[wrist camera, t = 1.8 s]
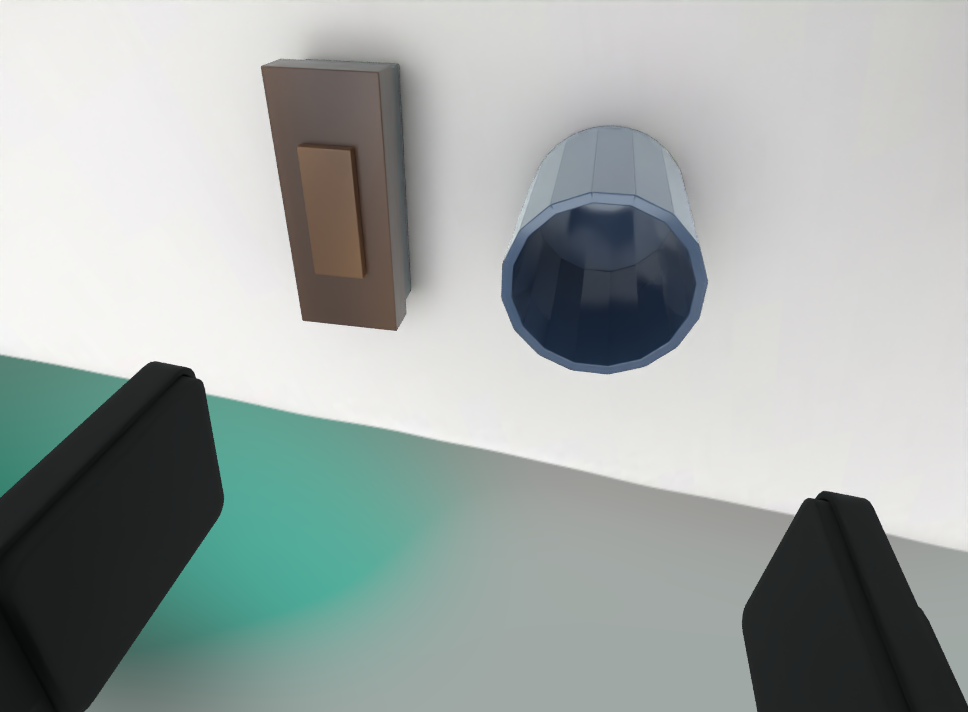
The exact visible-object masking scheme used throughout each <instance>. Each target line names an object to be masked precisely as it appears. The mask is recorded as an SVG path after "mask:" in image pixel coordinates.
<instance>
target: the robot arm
mask: <svg viewBox="0 0 968 712" xmlns="http://www.w3.org/2000/svg"><path fill="white" fill-rule="evenodd" d="M223 503H224V494H223V488H222V483H221V477H220V471H219V466H218V460H217V455H216V449H215V444H214V438H213V433H212V427H211V421H210V416H209V411H208V405H207V399H206V393H205V388H204V384H203V382H202V381H201V380H200V379H196V377H195V374H194V372H193V371H192V369H190V368H187V367H182V366H177V365H172V364H167V363H161V362H156V361H154V362H150V363H148V364H147V365H145V366H144V367H143V368H142V369H141V370H140V371H139V372H138V373H136V374H135V375H134V376H133V377H132V378H131V379H130V380H129V381H128V382H127V383H126V384H124V385H123V386H122V387H121V388H120V389H119V390H118V391H117V392H116V393H115V394H113V395H112V396H111V397H110V398H109V399H108V400H107V401H106V402H105V403H104V404H103V405H101V406H100V407H99V408H98V409H97V410H96V411H95V412H94V413H93V414H92V415H90V417H89V418H87V419H86V420H85V421H84V422H83V423H82V424H81V425H80V426H78V428H76V429H75V430H74V431H73V432H72V433H71V434H70V435H69V436H68V437H67V438H65V439H64V440H63V441H62V442H61V443H60V444H59V445H58V446H57V447H55V448H54V449H53V450H52V451H51V452H50V453H49V454H48V455H47V456H46V457H44V459H42V460H41V461H40V462H39V463H38V464H37V465H36V466H35V467H34V468H32V470H30V471H29V472H28V473H27V474H26V475H25V476H24V477H23V478H21V479H20V480H19V481H18V482H17V483H16V484H15V485H14V486H13V487H12V488H11V489H9V490H8V491H7V492H6V493H5V494H4V495H3V496H2V497H1V498H0V712H84V711H85V710H86V709H87V708H88V707H89V706H90V705H91V703H92V702H93V701H94V699H95V698H96V697H97V695H98V694H99V692H100V691H101V689H102V688H103V686H104V685H105V683H106V682H107V680H108V679H109V678H110V676H111V675H112V673H113V672H114V670H115V669H116V667H117V666H118V664H119V663H120V661H121V660H122V658H123V657H124V656H125V654H126V653H127V651H128V650H129V648H130V647H131V645H132V644H133V642H134V641H135V639H136V638H137V636H138V635H139V634H140V632H141V631H142V629H143V628H144V626H145V625H146V623H147V622H148V620H149V619H150V617H151V616H152V614H153V613H154V612H155V610H156V609H157V607H158V605H159V604H160V603H161V601H162V600H163V598H164V597H165V595H166V594H167V592H168V591H169V589H170V588H171V587H172V585H173V584H174V582H175V581H176V579H177V578H178V576H179V575H180V573H181V572H182V571H183V569H184V567H185V566H186V564H187V563H188V562H189V560H190V559H191V557H192V556H193V554H194V553H195V551H196V550H197V548H198V547H199V546H200V544H201V542H202V541H203V540H204V538H205V537H206V535H207V534H208V532H209V531H210V529H211V528H212V527H213V525H214V524H215V522H216V521H217V519H218V517H219V516H220V513H221V511H222V508H223ZM742 629H743V635H744V641H745V646H746V652H747V657H748V663H749V668H750V674H751V679H752V684H753V690H754V695H755V701H756V706H757V712H968V705H967V703H966V701H965V699H964V696H963V694H962V692H961V690H960V688H959V686H958V683H957V681H956V679H955V677H954V675H953V673H952V670H951V668H950V666H949V664H948V662H947V659H946V657H945V655H944V653H943V651H942V649H941V646H940V644H939V642H938V640H937V638H936V636H935V633H934V631H933V629H932V627H931V625H930V622H929V620H928V619H927V617H926V616H925V614H924V612H923V611H922V609H921V608H919V607H918V605H917V603H916V600H915V598H914V596H913V594H912V592H911V589H910V587H909V585H908V583H907V581H906V578H905V576H904V574H903V572H902V570H901V567H900V565H899V563H898V561H897V558H896V556H895V554H894V552H893V550H892V548H891V545H890V543H889V541H888V539H887V536H886V534H885V532H884V530H883V528H882V525H881V523H880V521H879V519H878V517H877V514H876V512H875V510H874V508H873V506H872V505H871V503H870V502H869V501H868V500H866V499H865V498H860V497H854V496H849V495H844V494H839V493H834V492H829V491H823V492H821V493H819V494H818V496H817V497H816V498H815V499H813V498H807V499H806V500H804V502H803V503H802V505H801V506H800V508H799V510H798V512H797V514H796V515H795V517H794V519H793V521H792V523H791V524H790V526H789V528H788V530H787V532H786V533H785V535H784V537H783V539H782V541H781V542H780V544H779V546H778V548H777V550H776V552H775V553H774V555H773V557H772V559H771V560H770V562H769V564H768V566H767V568H766V569H765V571H764V573H763V575H762V577H761V578H760V580H759V582H758V584H757V586H756V587H755V589H754V591H753V593H752V595H751V597H750V598H749V600H748V602H747V604H746V606H745V608H744V611H743V618H742Z"/></svg>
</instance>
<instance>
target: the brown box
mask: <svg viewBox="0 0 968 712" xmlns="http://www.w3.org/2000/svg"><path fill="white" fill-rule="evenodd" d="M261 70H262V76H263V82H264V89H265V95H266V101H267V107H268V113H269V119H270V125H271V131H272V137H273V143H274V149H275V156H276V162H277V168H278V174H279V180H280V186H281V192H282V198H283V204H284V210H285V216H286V222H287V229H288V235H289V241H290V247H291V253H292V259H293V265H294V271H295V277H296V283H297V289H298V296H299V302H300V308H301V314H302V320H303V321H311V322H320V323H329V324H338V325H347V326H357V327H366V328H375V329H384V330H393V331H397V329H398V327H399V326H400V324H401V322H402V320H403V319H404V317H405V315H406V298H407V296H408V294H409V293H410V291H411V282H410V263H409V244H408V226H407V207H406V188H405V169H404V151H403V132H402V113H401V94H400V75H399V64H392V63H371V62H351V61H331V60H311V59H306V60H291V59H279V60H276V61H273V62H271V63H268V64H265V65H263V66H261Z"/></svg>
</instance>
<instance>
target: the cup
mask: <svg viewBox="0 0 968 712" xmlns="http://www.w3.org/2000/svg"><path fill="white" fill-rule="evenodd" d="M707 285H708V279H707V275H706V271H705V266H704V262H703V258H702V253H701V249H700V245H699V241H698V237H697V233H696V229H695V225H694V221H693V217H692V213H691V210H690V206H689V202H688V198H687V194H686V190H685V186H684V182H683V178H682V174H681V171H680V169H679V167H678V166H677V164H676V162H675V161H674V159H673V158H672V156H671V155H670V153H669V152H668V151H667V150H666V149H665V148H664V147H663V146H662V145H661V144H660V143H658V142H657V141H656V140H655V139H653V138H651V137H650V136H648V135H646V134H644V133H642V132H639V131H637V130H634V129H630V128H627V127H619V126H601V127H594V128H590V129H587V130H583V131H581V132H578V133H576V134H574V135H572V136H570V137H568V138H567V139H565V140H564V141H562V142H561V143H560V144H558V145H557V146H556V147H555V148H554V149H553V150H552V151H551V152H550V153H549V154H548V155H547V156H546V158H545V159H544V160H543V161H542V163H541V165H540V167H539V169H538V170H537V173H536V175H535V177H534V179H533V181H532V183H531V186H530V188H529V191H528V193H527V196H526V199H525V202H524V205H523V207H522V210H521V213H520V216H519V219H518V221H517V224H516V227H515V230H514V233H513V235H512V238H511V241H510V244H509V247H508V250H507V252H506V255H505V258H504V261H503V264H502V291H501V297H502V301H503V304H504V306H505V308H506V311H507V313H508V316H509V318H510V321H511V323H512V326H513V328H514V330H515V331H516V332H517V333H518V334H519V335H520V336H521V337H522V338H523V339H524V340H525V341H526V342H527V343H528V344H529V345H530V346H531V347H532V348H533V349H534V350H535V351H536V352H537V353H538V354H539V355H540V356H542V357H544V358H546V359H549V360H551V361H553V362H555V363H557V364H559V365H561V366H564V367H566V368H568V369H570V370H574V371H583V372H591V373H600V374H613V373H617V372H622V371H627V370H632V369H636V368H641V367H644V366H647V365H649V364H650V363H652V362H654V361H655V360H657V359H659V358H660V357H662V356H664V355H665V354H667V353H669V352H670V351H672V350H673V349H675V348H676V347H678V345H679V344H680V343H681V342H682V340H683V339H684V338H685V336H686V335H687V334H688V332H689V331H690V330H691V328H692V327H693V326H694V325H695V323H696V322H697V321H698V319H699V317H700V314H701V310H702V306H703V302H704V297H705V293H706V289H707Z"/></svg>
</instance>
